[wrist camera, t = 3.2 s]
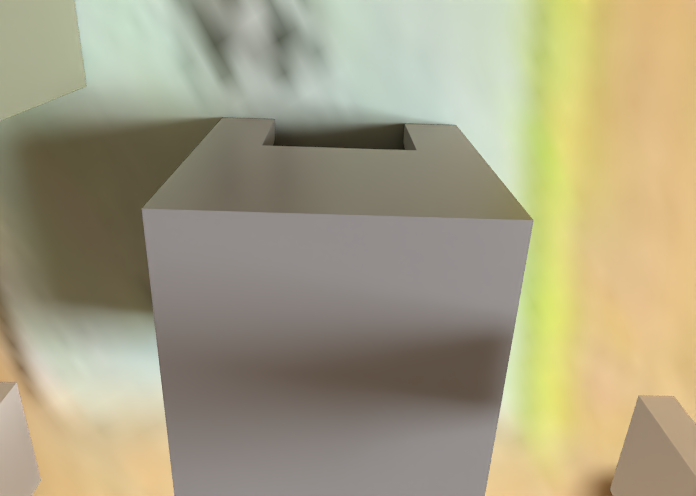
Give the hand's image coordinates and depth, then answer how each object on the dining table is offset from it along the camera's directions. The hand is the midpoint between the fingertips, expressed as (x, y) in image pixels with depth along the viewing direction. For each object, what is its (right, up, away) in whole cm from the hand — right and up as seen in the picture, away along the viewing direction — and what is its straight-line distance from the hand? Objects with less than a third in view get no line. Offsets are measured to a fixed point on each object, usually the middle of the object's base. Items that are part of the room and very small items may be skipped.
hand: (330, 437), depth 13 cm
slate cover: (0, +5, +12) cm, 13 cm away
